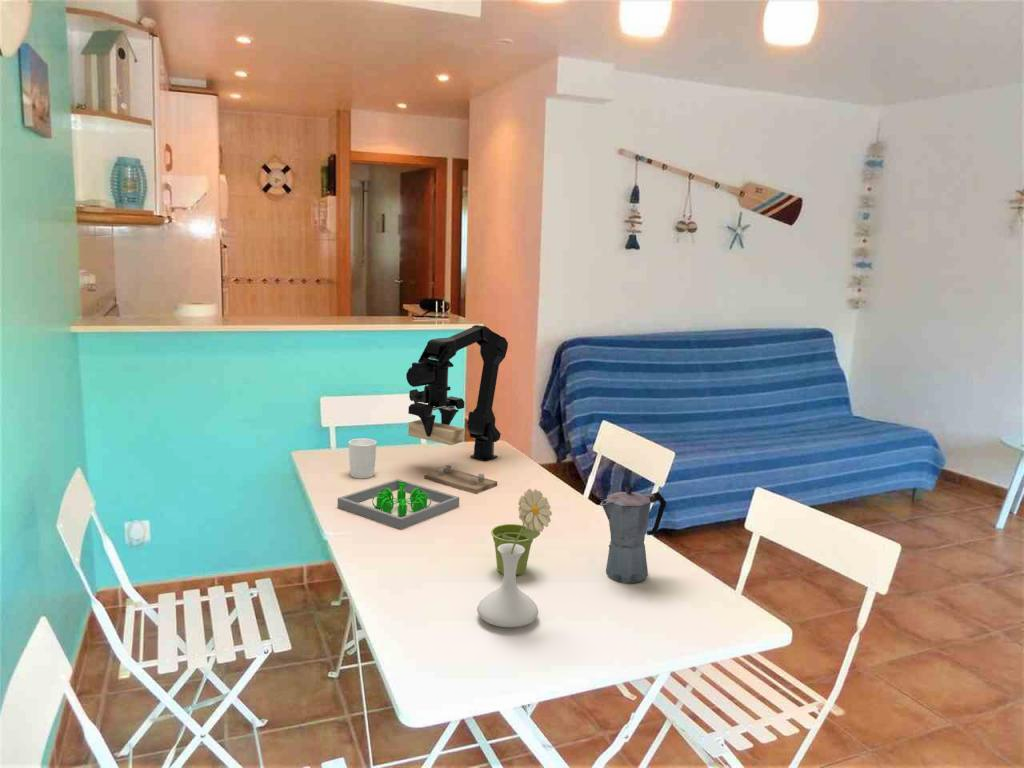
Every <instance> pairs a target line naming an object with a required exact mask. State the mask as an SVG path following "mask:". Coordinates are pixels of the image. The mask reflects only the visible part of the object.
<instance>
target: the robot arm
mask: <svg viewBox="0 0 1024 768" xmlns="http://www.w3.org/2000/svg"><path fill="white" fill-rule="evenodd" d="M475 343H476V344H477V345H478V346H479V347H480V350H479V351H480V352H479V353H480V356H481V360H482V362H483V363H482V364H483V365H482V369H481V376H480V383H479V390H478V394H477V401H476V407H475V408H474V409H473V410H472V411H469V413H468V417H467V421H466V425H467V430H468V433H469V438H473V439H474V445H473V448H474V449H473V454H471V455H470V456H469V458H473V459H476V460H480V461H485V462H487V461H490V460H493V459H496V458H498V455H496V454H494V451H495V443H497V442H498V441H500V438H501V435H502V434H501V432H500V430H498V428H497V427H496V417H495V413H494V412H493V405H494V399H495V393H496V392H495V391H496V385H497V379H498V374H499V366H500V365H501V363H502V362H503V361H504V359H505V358H506V355H507V352H508V347H509V342H508V341H507V338H506V337H504V336H501V335H500V334H498V333H496V332H495V331H493V330H491V328H489V327H488V326H486V325H479V324H474V325H473V326H472V327H470V328H467V329H466V330H463V331H461V332H458V333H456V334H454V335H451V336H448V337H438V338H431V339H429V340H428V341H427V343H426V346H425V347H424V349H423V352H422V353H421V355H420V357H419V359H418V360H417V362H412V363H411V366H410V367H409V368H408V369H407V372H406V374H405V375H406V377H405V378H406V381H407V383H408V385H409V386H410V387H413V388H417V387H422V386H424V388H423V389H424V390H421V391H419V390H418V389H411V390H409V395H408V396H409V400H410V402H413V403H410V405H409V406H408V414H409V415H413V416H417V417H418V418H419V420H420V419H421V421H422V423H423V426H424V429H425V432H426V435H427V436H428V437H430V436H431V433H432V429H433V425H434V422H435V420H436V415H435V414H433V411H436V410H437V411H439V413H440V420H441V422H440V423H442V424H446V425H451V423H452V421H453V419H454V418H455V416H456V414H457V413H459V411H460V410H461V409H465V404H466V403H465V401H464V399H463V398H461V397H457V396H456V397H455V396H448V391H451V388H452V387H451V386H448V384H449V382H448V381H449V368H453V367H454V364H453V363H452V361H450V360H451V359H452V358H454V357H455V356H456V354H457V352H458V351H459V350H461V349H464V348H466V347H468V346H471V345H473V344H475Z"/></svg>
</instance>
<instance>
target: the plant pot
mask: <svg viewBox="0 0 1024 768" xmlns="http://www.w3.org/2000/svg"><path fill="white" fill-rule="evenodd" d="M522 526H523V524H517V523H504V524H499V525H497V526H494V527H493V528H491V531H490V533H491V536H492V539H493V542H494V549H495V561H496V568H497V569H496V570H498V572H499V573H500V574H501V575H504V564H503V559H502V556H501V554H500V552H499V551H498V546H500V545H502V544H508V543H511V544H514V542H515V541H513V540H510V539H506V538H503V537H502V534H505V535H507V536H509V537H513V538H516V539H517V537H518V535H519V533H520V531H521V528H522ZM525 528H526V527H525V525H524V528H523V530H524V529H525ZM533 542H534V539H532V540H529V539H527V538H526V537H525V536H524V535H523V533H521V535H520V537H519V539H518V541H517V543H516V544H518V545H521V546H522V547H524V548H525V551H524V553H523V554H522V555H521V556H520V558H519V560H518V564H517V569H516V575H519V576H521V575H523V574H524V573H525V572H526V570H527V566H528V561H529V555H530V552H531V551H530V550H531V546H532V543H533Z"/></svg>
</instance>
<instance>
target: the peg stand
mask: <svg viewBox="0 0 1024 768" xmlns="http://www.w3.org/2000/svg"><path fill="white" fill-rule="evenodd" d="M423 478H424V479H425V480H427V481H431V482H434V483H436V484H437V483H438V484H441V485H445V486H448V487H450V488H455V489H458V490H461V491H465V492H469V493H471V494H479V493H482V492H485V491H486V490H489V489H492V488H495V487H497V486H498V481H497V480H493V479H489V478H486V477H485V474H484V473H478V475H475V474H471V473H468V472H464V471H460V470H456V469H453V468H452V465H451V464H447V465H445V467H438V468H437V470H435V471H432V472H429V473H425V474H423Z"/></svg>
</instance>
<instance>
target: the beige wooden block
mask: <svg viewBox="0 0 1024 768" xmlns="http://www.w3.org/2000/svg"><path fill="white" fill-rule="evenodd" d="M407 431H408V434H407V435H408V437H412V438H417V439H422V440H426V441H431V442H435V443H440V444H444V445H448V446H454V445H457V444H460V443H463V442H464V439H465V428H463V427H461V426H456V425H451V424H450V425H446V424H442V423H441V422H435V421H434V425H433V429H432V433H431V436H430V437H428V436H427V435H426V432H425V429H424V426H423V423H422V421H421V419H420V418H419V419H417V420H413V421H410V422H408V430H407Z"/></svg>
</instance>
